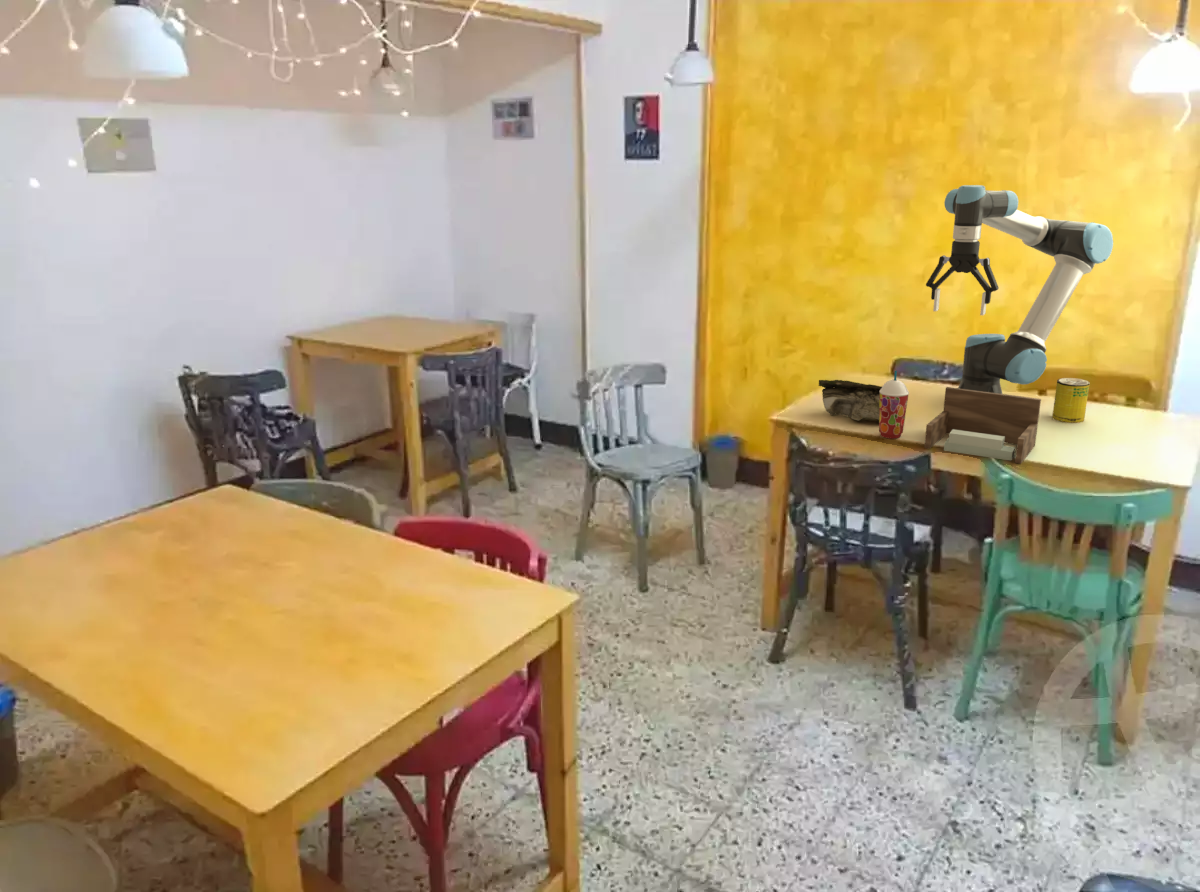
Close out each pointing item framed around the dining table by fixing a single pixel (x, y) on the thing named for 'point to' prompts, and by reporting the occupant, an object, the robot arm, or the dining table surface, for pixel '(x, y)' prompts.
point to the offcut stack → (978, 445)
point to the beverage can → (1070, 400)
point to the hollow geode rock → (851, 398)
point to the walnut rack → (988, 418)
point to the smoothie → (892, 408)
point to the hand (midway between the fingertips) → (958, 312)
